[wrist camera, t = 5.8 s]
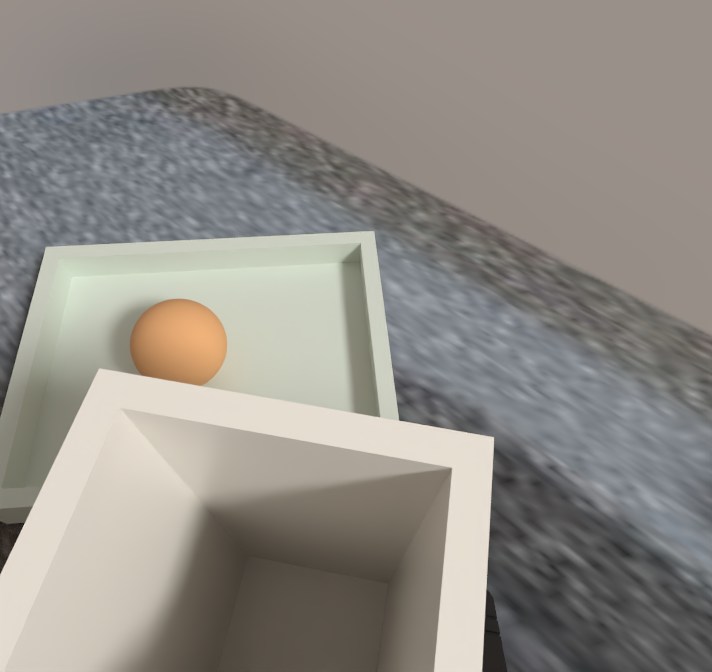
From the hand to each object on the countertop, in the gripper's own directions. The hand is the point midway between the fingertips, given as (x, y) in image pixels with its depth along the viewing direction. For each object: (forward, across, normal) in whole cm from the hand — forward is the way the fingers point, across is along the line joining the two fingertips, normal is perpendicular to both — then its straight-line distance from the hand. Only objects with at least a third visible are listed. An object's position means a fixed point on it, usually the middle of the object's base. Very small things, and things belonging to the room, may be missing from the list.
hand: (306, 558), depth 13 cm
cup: (+2, 0, -5) cm, 6 cm away
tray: (+8, -5, +1) cm, 10 cm away
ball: (+7, -6, +2) cm, 9 cm away
